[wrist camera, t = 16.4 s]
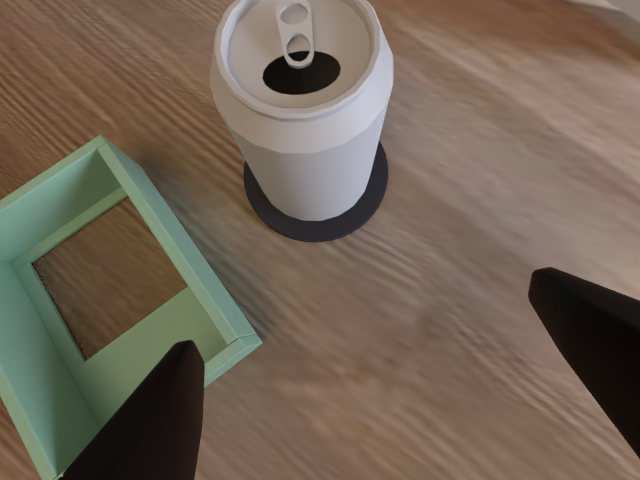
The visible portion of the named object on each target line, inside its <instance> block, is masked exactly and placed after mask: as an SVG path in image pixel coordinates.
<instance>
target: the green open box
mask: <svg viewBox="0 0 640 480" xmlns="http://www.w3.org/2000/svg"><path fill="white" fill-rule="evenodd" d="M127 197H129V198H130V200H131V201H132V203H133V204H134V206H135V207H136V209H137V210H138V212H139V213H140V215H141V216H142V218H143V219H144V221H145V222H146V224H147V225H148V227H149V228H150V230H151V231H152V233H153V234H154V236H155V237H156V239H157V240H158V242H159V243H160V245H161V246H162V248H163V249H164V251H165V252H166V254H167V255H168V257H169V258H170V260H171V261H172V263H173V264H174V266H175V267H176V269H177V270H178V272H179V273H180V275H181V276H182V278H183V279H184V281H185V282H186V284H187V285H188V286H187V287H186V288H185V289H183V290H182V291H181V292H179V293H178V294H176V295H175V296H174V297H172V298H171V299H170V300H168V301H167V302H166V303H164V304H163V305H161V306H160V307H159V308H157V309H156V310H155V311H153V312H152V313H151V314H149V315H148V316H146V317H145V318H144V319H142V320H141V321H140V322H138V323H137V324H136V325H134V326H133V327H131V328H130V329H129V330H127V331H126V332H125V333H123V334H122V335H121V336H119V337H118V338H116V339H115V340H114V341H112V342H111V343H110V344H108V345H107V346H106V347H104V348H103V349H101V350H100V351H99V352H97V353H96V354H95V355H93V356H92V357H91V358H89V359H88V360H85V358H84V356H83V354H82V352H81V351H80V349H79V347H78V345H77V344H76V342H75V340H74V338H73V337H72V335H71V333H70V331H69V329H68V328H67V326H66V324H65V322H64V321H63V319H62V317H61V315H60V313H59V312H58V310H57V308H56V306H55V305H54V303H53V301H52V299H51V298H50V296H49V294H48V292H47V290H46V289H45V287H44V285H43V283H42V282H41V280H40V278H39V276H38V275H37V273H36V271H35V269H34V267H33V266H32V264H31V263H32V262H34V261H35V260H37V259H38V258H40V257H41V256H43V255H44V254H46V253H47V252H48V251H50V250H51V249H53V248H54V247H56V246H57V245H59V244H60V243H62V242H63V241H64V240H66V239H67V238H69V237H70V236H72V235H73V234H75V233H76V232H78V231H79V230H80V229H82V228H83V227H85V226H86V225H88V224H89V223H91V222H92V221H94V220H95V219H96V218H98V217H99V216H101V215H102V214H104V213H105V212H107V211H108V210H110V209H111V208H112V207H114V206H115V205H117V204H118V203H120V202H121V201H123V200H124V199H126V198H127ZM185 340H192V341H194V343H195V345H196V346H197V348H198V350H199V352H200V354H201V356H202V358H203V360H204V365H205V376H204V388H206V387H207V386H208V385H209V384H211V383H212V382H213V381H215V380H216V379H217V378H218V377H220V376H221V375H222V374H224V373H225V372H226V371H227V370H229V369H230V368H231V367H233V366H234V365H235V364H237V363H238V362H239V361H240V360H242V359H243V358H244V357H246V356H247V355H248V354H249V353H251V352H252V351H253V350H255V349H256V348H257V347H258V346H260V345H261V344H262V343H263V342H262V341H261V339H260V338H259V336H258V335H257V334H256V332H255V330H254V329H253V328H252V326H251V325H250V323H249V322H248V320H247V319H246V317H245V316H244V315H243V313H242V312H241V310H240V309H239V307H238V306H237V304H236V303H235V302H234V300H233V299H232V297H231V296H230V294H229V293H228V291H227V290H226V289H225V287H224V286H223V284H222V283H221V281H220V280H219V278H218V277H217V276H216V274H215V273H214V271H213V270H212V268H211V267H210V265H209V264H208V263H207V261H206V260H205V258H204V257H203V255H202V254H201V252H200V251H199V250H198V248H197V247H196V245H195V244H194V242H193V241H192V239H191V238H190V237H189V235H188V234H187V232H186V231H185V229H184V228H183V226H182V225H181V224H180V222H179V221H178V219H177V218H176V216H175V215H174V213H173V212H172V211H171V209H170V208H169V206H168V205H167V203H166V202H165V200H164V199H163V198H162V196H161V195H160V193H159V192H158V190H157V189H156V187H155V186H154V185H153V183H152V182H151V180H150V179H149V177H148V176H147V174H146V173H145V171H144V170H143V169H142V167H141V166H140V165H139V164H138V163H136V162H135V161H134V160H133V159H131V158H130V157H129V156H127V155H126V154H125V153H124V152H122V151H121V150H120V149H119V148H117V147H116V146H115V145H114V144H112V143H111V142H110V141H109V140H107V139H106V138H105V137H104V136H102V135H98V136H97V137H95V138H94V139H92V140H91V141H89V142H88V143H86V144H85V145H83V146H82V147H80V148H79V149H77V150H76V151H74V152H73V153H71V154H70V155H68V156H67V157H65V158H64V159H62V160H61V161H59V162H57V163H56V164H54V165H53V166H51V167H50V168H48V169H47V170H45V171H44V172H42V173H41V174H39V175H38V176H36V177H35V178H33V179H32V180H30V181H29V182H27V183H26V184H24V185H23V186H21V187H20V188H18V189H17V190H15V191H14V192H12V193H10V194H9V195H7V196H6V197H4V198H3V199H1V200H0V397H1V399H2V401H3V403H4V405H5V407H6V409H7V411H8V413H9V415H10V417H11V419H12V421H13V423H14V425H15V427H16V429H17V431H18V433H19V435H20V437H21V439H22V441H23V443H24V445H25V447H26V449H27V451H28V453H29V455H30V457H31V459H32V461H33V463H34V465H35V467H36V470H37V472H38V474H39V476H40V478H41V480H58V478H59V477H63V473H64V472H65V470H66V469H67V468H68V467H69V466H70V465H71V463H72V462H73V461H74V460H75V459H76V458H77V457H78V455H79V454H80V453H81V452H82V451H83V450H84V448H85V447H86V446H87V445H88V444H89V443H90V441H91V440H92V439H93V438H94V437H95V436H96V434H97V433H98V432H99V431H100V430H101V429H102V427H103V426H104V425H105V424H106V423H107V422H108V420H109V419H110V418H111V417H112V416H113V415H114V413H115V412H116V411H117V410H118V409H119V408H120V406H121V405H122V404H123V403H124V402H125V401H126V399H127V398H128V397H129V396H130V395H131V394H132V392H133V391H134V390H135V389H136V388H137V387H138V386H139V384H140V383H141V382H142V381H143V380H144V379H145V377H146V376H147V375H148V374H149V373H150V372H151V370H152V369H153V368H154V367H155V366H156V365H157V363H158V362H159V361H160V360H161V359H162V358H163V356H164V355H165V354H166V353H167V352H168V351H169V349H170V348H171V347H172V346H173V345H174V344H175V343H177V342H180V341H185Z"/></svg>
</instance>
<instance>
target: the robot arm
mask: <svg viewBox="0 0 640 480" xmlns="http://www.w3.org/2000/svg"><path fill="white" fill-rule="evenodd" d="M528 297H529V301H530V303H531V305H532V306H533V308H534V310H535V311H536V313H537V315H538V316H539V318H540V320H541V321H542V323H543V325H544V326H545V328H546V330H547V331H548V333H549V335H550V336H551V338H552V340H553V341H554V343H555V345H556V346H557V348H558V349H559V351H560V352H561V354H562V355H563V357H564V358H565V360H566V361H567V362H568V364H569V365H570V366H571V368H572V369H573V370H574V372H575V373H576V374H577V376H578V377H579V378H580V380H581V381H582V382H583V384H584V385H585V386H586V388H587V389H588V390H589V392H590V393H591V394H592V396H593V397H594V398H595V400H596V401H597V402H598V404H599V405H600V406H601V408H602V409H603V410H604V412H605V413H606V414H607V416H608V417H609V418H610V420H611V421H612V422H613V424H614V425H615V426H616V428H617V429H618V430H619V432H620V433H621V434H622V436H623V437H624V439H625V440H626V441H627V443H628V444H629V445H630V447H631V448H632V449H633V451H634V452H635V453H636V455H637V456H638V457H639V459H640V301H639V300H637V299H634V298H631V297H629V296H626V295H623V294H621V293H618V292H616V291H613V290H610V289H608V288H605V287H602V286H600V285H597V284H595V283H592V282H589V281H587V280H584V279H581V278H579V277H576V276H574V275H571V274H568V273H566V272H563V271H560V270H558V269H555V268H552V267H547V268H542V269H537V270H535V271H534V272H533V273H532V277H531V282H530V287H529V292H528ZM204 376H205V365H204V360H203V358H202V356H201V354H200V352H199V350H198V348H197V346H196V345H195V343H194V341H192V340H185V341H180V342H177V343H175V344H174V345H173V346H172V347H171V348H170V349H169V351H168V352H167V353H166V354H165V355H164V356H163V358H162V359H161V360H160V361H159V362H158V363H157V365H156V366H155V367H154V368H153V369H152V370H151V372H150V373H149V374H148V375H147V376H146V377H145V379H144V380H143V381H142V382H141V383H140V384H139V386H138V387H137V388H136V389H135V390H134V391H133V392H132V394H131V395H130V396H129V397H128V398H127V399H126V401H125V402H124V403H123V404H122V405H121V406H120V408H119V409H118V410H117V411H116V412H115V413H114V415H113V416H112V417H111V418H110V419H109V420H108V422H107V423H106V424H105V425H104V426H103V427H102V429H101V430H100V431H99V432H98V433H97V434H96V436H95V437H94V438H93V439H92V440H91V441H90V443H89V444H88V445H87V446H86V447H85V448H84V450H83V451H82V452H81V453H80V454H79V455H78V457H77V458H76V459H75V460H74V461H73V462H72V463H71V465H70V466H69V467H68V468H67V469H66V470H65V472H64V473H63V477H59V478H58V480H194V477H195V470H196V464H197V457H198V451H199V445H200V438H201V431H202V420H203V399H204Z"/></svg>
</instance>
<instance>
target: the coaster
mask: <svg viewBox="0 0 640 480" xmlns="http://www.w3.org/2000/svg"><path fill="white" fill-rule="evenodd" d="M387 180H388V165H387V159H386V155H385V152H384V149H383V147H382V145H381V143H380V141H379V142H378V146H377V150H376V154H375V158H374V162H373V166H372V170H371V174H370V177H369V180H368V183H367V186H366V189H365V192H364V193H363V194H362V196H361V197H360V198H359V200H358V201H357V202H356V203H355V205H354V206H352V207H351V208H350V209H348V210H347V211H345V212H344V213H342V214H341V215H339V216H336V217H333V218H329V219H326V220H323V221H303V220H300V219H297V218H294V217H291V216H288V215H286V214H284V213H283V212H281V211H280V210H279V209H277V208H276V207H275V206H273V205H272V204H271V202H270V201H269V199H268V198H267V196H266V195H265V194H264V192H263V191H262V189H261V187H260V185H259V183H258V182H257V180H256V178H255V176H254V174H253V173H252V171H251V169H250V167H249V165H248V164H247V162H246V160H245V165H244V185H245V190H246V193H247V197H248V199H249V201H250V204H251V206H252V207H253V209H254V210H255V212H256V213H257V215H258V216H259V217H260V218H261V219H262V221H264V222H265V223H266V224H267V225H268V226H269V227H270V228H272V229H273V230H275V231H276V232H278V233H280V234H282V235H284V236H286V237H289V238H292V239H295V240H299V241H304V242H325V241H330V240H335V239H338V238H341V237H343V236H346V235H348V234H350V233H352V232H353V231H355V230H357V229H358V228H360V227H361V226H362V225H363V224H364V223H366V222H367V221H368V220H369V218H370V217H371V216H372V215H373V214H374V212H375V211H376V210H377V208H378V207H379V205H380V203H381V201H382V199H383V196H384V193H385V190H386V186H387Z"/></svg>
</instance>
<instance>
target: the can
mask: <svg viewBox="0 0 640 480" xmlns="http://www.w3.org/2000/svg"><path fill="white" fill-rule="evenodd" d="M209 82H210V86H211V90H212V94H213V98H214V102H215V106H216V108H217V110H218V111H219V113H220V115H221V117H222V119H223V120H224V122H225V124H226V126H227V128H228V129H229V131H230V133H231V135H232V137H233V138H234V140H235V142H236V144H237V146H238V147H239V149H240V151H241V153H242V155H243V156H244V158H245V160H246V162H247V164H248V165H249V167H250V169H251V171H252V173H253V174H254V176H255V178H256V180H257V182H258V183H259V185H260V187H261V189H262V191H263V192H264V194H265V195H266V196H267V198H268V199H269V201H270V202H271V204H272V205H273V206H275V207H276V208H277V209H279V210H280V211H281V212H283V213H284V214H286V215H288V216H291V217H294V218H297V219H300V220H303V221H323V220H326V219H329V218H333V217H336V216H339V215H341V214H342V213H344V212H345V211H347V210H348V209H350V208H351V207H352V206H354V205H355V203H356V202H357V201H358V200H359V198H360V197H361V196H362V194H363V193H364V192H365V189H366V186H367V183H368V180H369V177H370V174H371V170H372V166H373V162H374V158H375V154H376V150H377V146H378V142H379V138H380V134H381V130H382V126H383V122H384V118H385V114H386V110H387V106H388V102H389V98H390V94H391V90H392V86H393V55H392V52H391V50H390V47H389V45H388V42H387V40H386V38H385V35H384V33H383V32H382V28H381V25H380V23H379V20H378V18H377V15H376V13H375V10H374V8H373V7H372V6H371V5H370V4H369V3H368V2H367V0H235V1H234V2H233V3H232V4H231V5H230V6H229V7H228V8H227V9H226V10H225V12H224V14H223V16H222V18H221V20H220V22H219V24H218V27H217V29H216V31H215V38H214V47H213V56H212V63H211V72H210V81H209Z"/></svg>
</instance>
